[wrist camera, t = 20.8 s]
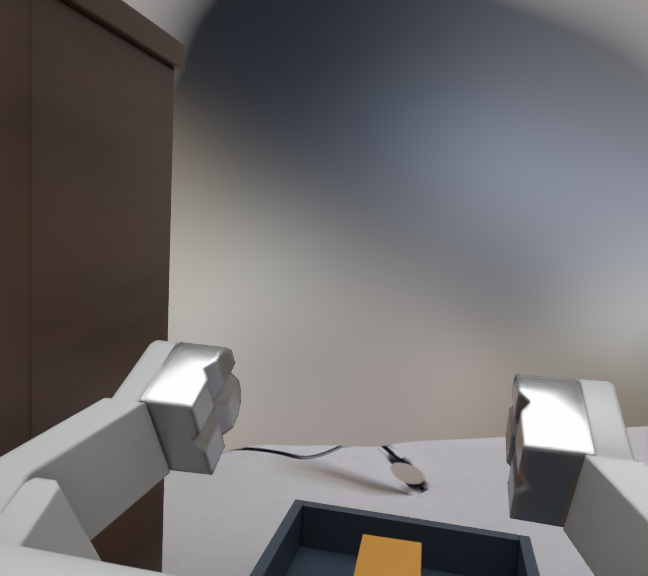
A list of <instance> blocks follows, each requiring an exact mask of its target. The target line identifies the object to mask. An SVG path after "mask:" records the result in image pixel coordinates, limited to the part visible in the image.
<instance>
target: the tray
mask: <svg viewBox="0 0 648 576" xmlns="http://www.w3.org/2000/svg"><path fill="white" fill-rule="evenodd" d="M363 534H365V535H372V536H379V537H386V538H392V539H399V540H406V541H412V542H419V543H422V555H421V576H540V575H539V571H538V567H537V563H536V559H535V555H534V552H533V548H532V544H531V540H530V537H528V536H522V535H519V536H518V535H516V534H510V533H504V532H497V531H491V530H485V529H479V528H472V527H466V526H460V525H453V524H447V523H441V522H434V521H428V520H422V519H416V518H409V517H403V516H397V515H390V514H384V513H378V512H372V511H365V510H359V509H353V508H346V507H340V506H334V505H327V504H321V503H315V502H309V501H302V500H295V501H294V503H293V504H292V506H291V508H290V509H289V511H288V513H287V514H286V516H285V518H284V519H283V521H282V523H281V524H280V526H279V528H278V529H277V531H276V533H275V534H274V536H273V538H272V539H271V541H270V543H269V544H268V546H267V548H266V549H265V551H264V553H263V554H262V556H261V558H260V559H259V561H258V563H257V564H256V566H255V568H254V569H253V571H252V573H251V574H250V576H353V575H354V571H355V566H356V562H357V558H358V553H359V549H360V545H361V540H362V536H363Z"/></svg>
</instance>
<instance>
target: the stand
mask: <svg viewBox="0 0 648 576" xmlns="http://www.w3.org/2000/svg"><path fill="white" fill-rule="evenodd" d="M184 69H185V45H183V44H182V43H181V42H179V41H178V40H177V39H175V38H174V37H172V36H171V35H170V34H168V33H167V32H165V31H164V30H162V29H161V28H160V27H158V26H157V25H156V24H154V23H153V22H151V21H150V20H149V19H147V18H146V17H145V16H143V15H142V14H140V13H139V12H137V11H136V10H135V9H133V8H132V7H131V6H129V5H128V4H126V3H125V2H124V1H122V0H0V457H1V456H3V455H5V454H7V453H8V452H10V451H12V450H14V449H15V448H17V447H19V446H21V445H22V444H24V443H26V442H28V441H29V440H31V439H33V438H35V437H37V436H38V435H40V434H42V433H44V432H45V431H47V430H49V429H51V428H52V427H54V426H56V425H58V424H59V423H61V422H63V421H65V420H66V419H68V418H70V417H72V416H73V415H75V414H77V413H79V412H81V411H82V410H84V409H86V408H88V407H89V406H91V405H93V404H95V403H96V402H98V401H100V400H102V399H103V398H111V399H112V397H113V396H114V394H115V393H116V392H117V390H118V389H119V387H120V386H121V385H122V383H123V382H124V380H125V379H126V377H127V376H128V375H129V373H130V372H131V370H132V369H133V368H134V366H135V365H136V363H137V362H138V361H139V359H140V358H141V356H142V355H143V353H144V352H145V351H146V349H147V348H148V346H149V345H150V344H151V343H153V342H154V341H156V340H162V341H168V300H169V261H170V260H169V258H170V219H171V179H172V141H173V139H172V138H173V100H174V99H173V98H174V71H184ZM163 502H164V478H163V479H162V480H161V481H160V482H158V483H157V484H156V485H155V486H154V487H153V488H151V489H150V490H149V491H148V492H147V493H146V494H144V495H143V496H142V497H141V498H140V499H139V500H137V501H136V502H135V503H134V504H133V505H132V506H130V507H129V508H128V509H127V510H126V511H125V512H123V513H122V514H121V515H120V516H119V517H118V518H116V519H115V520H114V521H113V522H112V523H111V524H109V525H108V526H107V527H106V528H105V529H104V530H102V531H101V532H100V533H99V534H98V535H97V536H95V537H94V538H93V539H92V540H91V543H92V545H93V547H94V549H95V550H96V552H97V554H98V556H99V558H100V559H101V561H102V562H107V563H113V564H118V565H123V566H129V567H134V568H139V569H144V570H150V571H155V572H160V573H162V542H163Z"/></svg>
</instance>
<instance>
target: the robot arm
mask: <svg viewBox="0 0 648 576" xmlns="http://www.w3.org/2000/svg"><path fill="white" fill-rule="evenodd" d="M234 364H235V361H234V357H233V353H232V350H230V349H228V348H225V347H217V346H208V345H200V344H191V343H183V342H181V343H177V342H169V341H162V340H156V341H154V342H153V343H151V344H150V345H149V346H148V348H147V349H146V351H145V352H144V353H143V355H142V356H141V358H140V359H139V361H138V362H137V363H136V365H135V366H134V368H133V369H132V370H131V372H130V373H129V375H128V376H127V377H126V379H125V380H124V382H123V383H122V385H121V386H120V387H119V389H118V390H117V392H116V393H115V394H114V396H113V397H112V399H111V398H103V399H102V400H100V401H98V402H96V403H95V404H93V405H91V406H89V407H88V408H86V409H84V410H82V411H81V412H79V413H77V414H75V415H73V416H72V417H70V418H68V419H66V420H65V421H63V422H61V423H59V424H58V425H56V426H54V427H52V428H51V429H49V430H47V431H45V432H44V433H42V434H40V435H38V436H37V437H35V438H33V439H31V440H29V441H28V442H26V443H24V444H22V445H21V446H19V447H17V448H15V449H14V450H12V451H10V452H8V453H7V454H5V455H3V456H1V457H0V576H176V575H171V574H166V573H160V572H155V571H150V570H144V569H139V568H134V567H129V566H123V565H118V564H113V563H107V562H102V561H101V559H100V558H99V556H98V554H97V552H96V550H95V549H94V547H93V545H92V543H91V540H92V539H93V538H94V537H95V536H97V535H98V534H99V533H100V532H101V531H102V530H104V529H105V528H106V527H107V526H108V525H109V524H111V523H112V522H113V521H114V520H115V519H116V518H118V517H119V516H120V515H121V514H122V513H123V512H125V511H126V510H127V509H128V508H129V507H130V506H132V505H133V504H134V503H135V502H136V501H137V500H139V499H140V498H141V497H142V496H143V495H144V494H146V493H147V492H148V491H149V490H150V489H151V488H153V487H154V486H155V485H156V484H157V483H158V482H160V481H161V480H162V479H163V478H164V477H165V476H167V475H168V474H169V473H170V470H174V471H183V472H192V473H200V474H209V475H212V474H213V472H214V470H215V467H216V465H217V463H218V461H219V458H220V456H221V454H222V452H223V449H224V447H225V444H224V440H223V436H222V435H224V434H225V433H226V432H228V431H229V430H230V429H232V428H233V427H234V424H235V422H236V420H237V417H238V414H239V409H240V403H241V388H240V383H239V380H238V379H237V378H236V377H235V376H234V375H233V374H232V373H231V371H232V369H233V366H234ZM512 398H513V406H512V407H511V408H509V413H508V420H507V431H506V461H507V463H508V464H509V465H510V473H509V479H508V497H509V512H510V518H513V519H518V520H524V521H530V522H536V523H542V524H548V525H554V526H560V527H564V529H563V530H564V531H565V533H566V534H567V536H568V537H569V539H570V540H571V542H572V543H573V544H574V546H575V547H576V549H577V550H578V552H579V553H580V555H581V556H582V558H583V559H584V560H585V562H586V563H587V565H588V566H589V568H590V569H591V571H592V572H593V574H594V575H595V576H648V464H647V463H646V462H641V461H635V459H634V456H633V452H632V449H631V445H630V442H629V438H628V434H627V431H626V427H625V424H624V420H623V417H622V413H621V409H620V406H619V402H618V399H617V395H616V392H615V388H614V386H613V385H612V383H611V382H609V381H595V380H582V379H578V380H576V379H567V378H555V377H542V376H532V375H520V374H516V375H515V378H514V382H513V388H512Z"/></svg>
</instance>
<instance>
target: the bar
mask: <svg viewBox="0 0 648 576" xmlns="http://www.w3.org/2000/svg"><path fill="white" fill-rule="evenodd" d="M421 555H422V543H419V542H412V541H406V540H399V539H392V538H386V537H379V536H372V535H365V534H363V536H362V540H361V545H360V549H359V553H358V558H357V562H356V566H355V571H354V575H353V576H421Z"/></svg>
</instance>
